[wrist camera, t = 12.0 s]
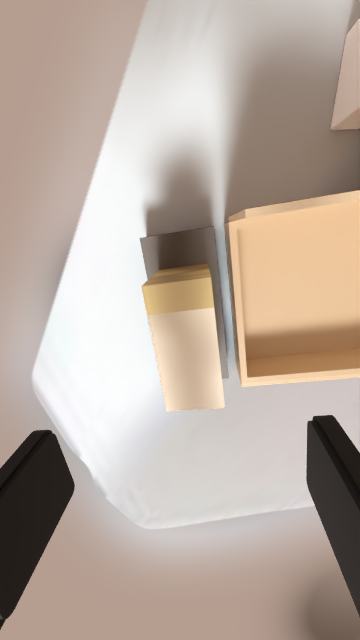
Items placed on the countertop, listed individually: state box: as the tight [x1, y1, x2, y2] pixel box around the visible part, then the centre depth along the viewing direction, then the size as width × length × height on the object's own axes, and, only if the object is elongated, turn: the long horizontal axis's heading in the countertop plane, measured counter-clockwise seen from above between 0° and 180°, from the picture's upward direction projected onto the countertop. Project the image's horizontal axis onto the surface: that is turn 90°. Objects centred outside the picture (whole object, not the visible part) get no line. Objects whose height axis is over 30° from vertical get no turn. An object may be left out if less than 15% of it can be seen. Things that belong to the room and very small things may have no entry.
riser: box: [140, 226, 229, 378], centre depth 25 cm, size 6×15×3 cm, turn 9°
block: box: [142, 263, 225, 412], centre depth 21 cm, size 4×10×7 cm, turn 8°
